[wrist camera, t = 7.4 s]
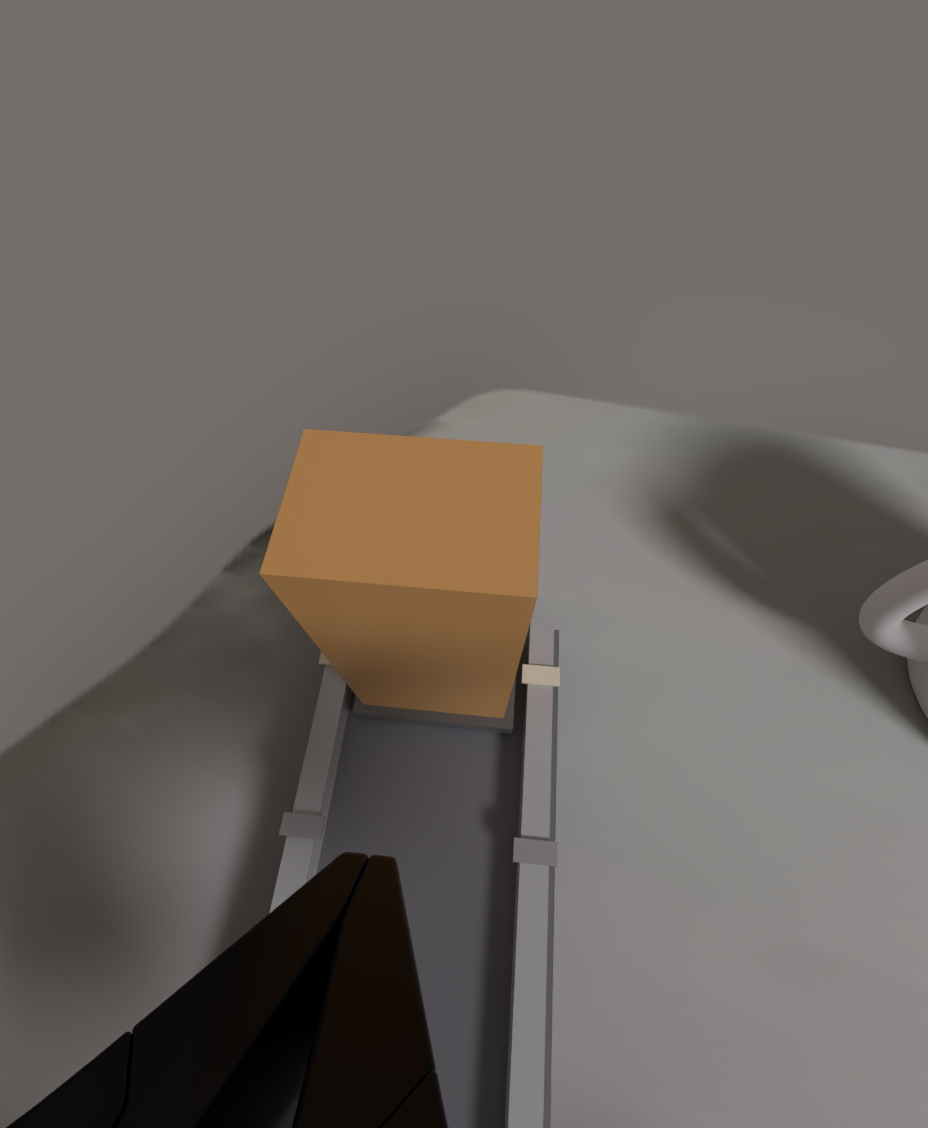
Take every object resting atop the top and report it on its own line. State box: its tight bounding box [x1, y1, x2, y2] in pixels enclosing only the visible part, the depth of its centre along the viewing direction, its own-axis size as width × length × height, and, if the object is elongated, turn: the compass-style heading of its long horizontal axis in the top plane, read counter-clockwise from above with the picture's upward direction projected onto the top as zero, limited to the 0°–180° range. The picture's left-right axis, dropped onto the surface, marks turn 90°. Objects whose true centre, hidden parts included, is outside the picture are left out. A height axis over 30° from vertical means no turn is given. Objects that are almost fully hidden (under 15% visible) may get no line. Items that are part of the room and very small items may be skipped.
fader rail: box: [270, 617, 560, 1128], centre depth 16 cm, size 15×8×3 cm, turn 174°
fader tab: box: [259, 429, 543, 734], centre depth 13 cm, size 4×5×10 cm
